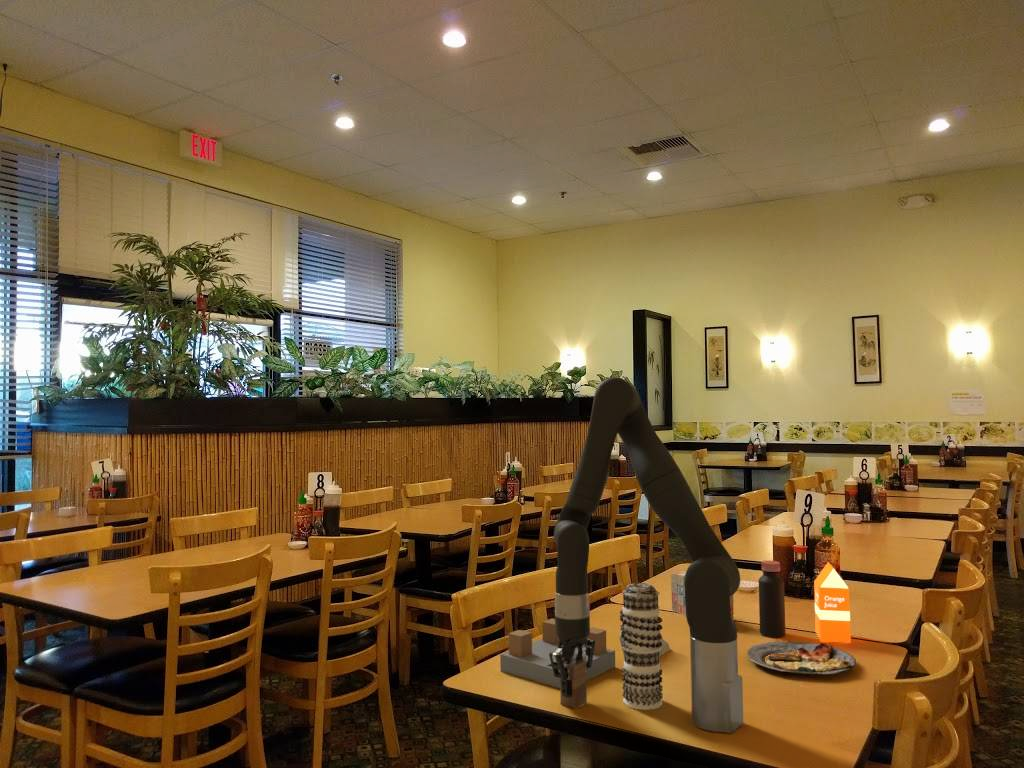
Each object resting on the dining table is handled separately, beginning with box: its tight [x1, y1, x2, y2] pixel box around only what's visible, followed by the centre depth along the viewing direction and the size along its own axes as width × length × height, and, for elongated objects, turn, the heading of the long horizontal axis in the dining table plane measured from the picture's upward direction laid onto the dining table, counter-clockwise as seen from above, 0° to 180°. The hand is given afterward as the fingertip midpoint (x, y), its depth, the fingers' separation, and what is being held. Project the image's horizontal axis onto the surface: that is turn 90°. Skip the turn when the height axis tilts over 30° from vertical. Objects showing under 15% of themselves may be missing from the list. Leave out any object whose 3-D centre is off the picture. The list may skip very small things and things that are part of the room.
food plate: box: [747, 640, 857, 676], centre depth 185 cm, size 25×23×4 cm
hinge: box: [619, 630, 671, 658], centre depth 193 cm, size 17×5×10 cm, turn 145°
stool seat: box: [499, 617, 616, 689], centre depth 183 cm, size 20×20×9 cm
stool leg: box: [559, 660, 588, 709], centre depth 161 cm, size 4×4×9 cm
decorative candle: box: [619, 582, 664, 711], centre depth 162 cm, size 9×9×25 cm
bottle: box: [758, 560, 786, 639], centre depth 209 cm, size 7×7×20 cm
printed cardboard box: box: [670, 570, 735, 622], centre depth 226 cm, size 21×6×12 cm, turn 26°
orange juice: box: [813, 561, 852, 644], centre depth 205 cm, size 8×9×20 cm
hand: (573, 692), depth 161 cm, fingers closed on stool leg, 4 cm apart
